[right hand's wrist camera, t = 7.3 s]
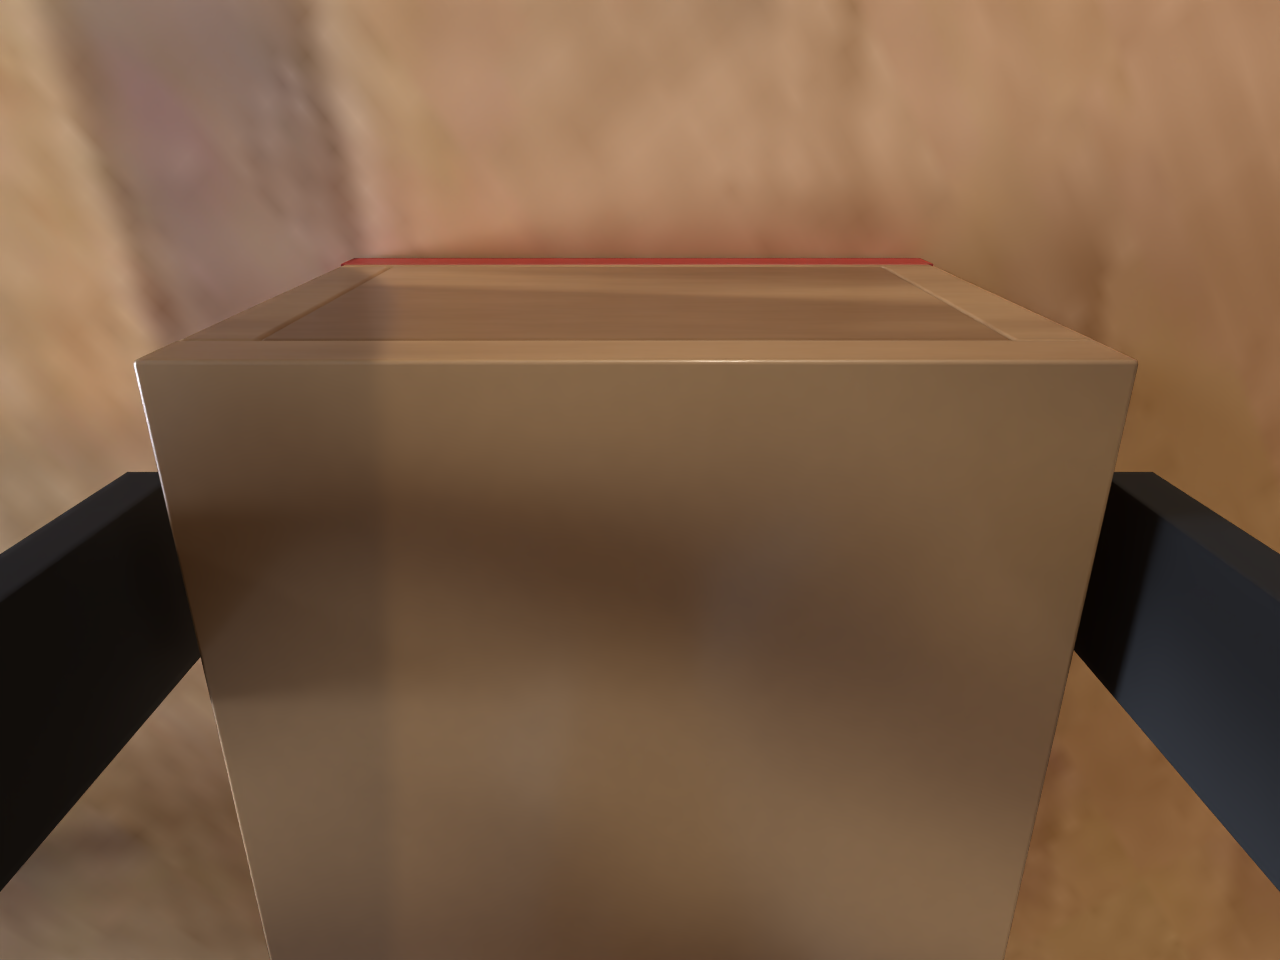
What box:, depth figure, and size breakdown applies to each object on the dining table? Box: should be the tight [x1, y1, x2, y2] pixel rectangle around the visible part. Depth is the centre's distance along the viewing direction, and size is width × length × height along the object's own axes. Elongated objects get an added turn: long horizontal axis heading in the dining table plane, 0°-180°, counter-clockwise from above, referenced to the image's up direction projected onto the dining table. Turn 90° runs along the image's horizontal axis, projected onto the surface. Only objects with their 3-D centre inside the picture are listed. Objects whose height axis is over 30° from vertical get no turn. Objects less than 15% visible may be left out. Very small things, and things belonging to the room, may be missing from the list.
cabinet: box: [134, 258, 1138, 960], centre depth 17 cm, size 21×12×8 cm, turn 0°
